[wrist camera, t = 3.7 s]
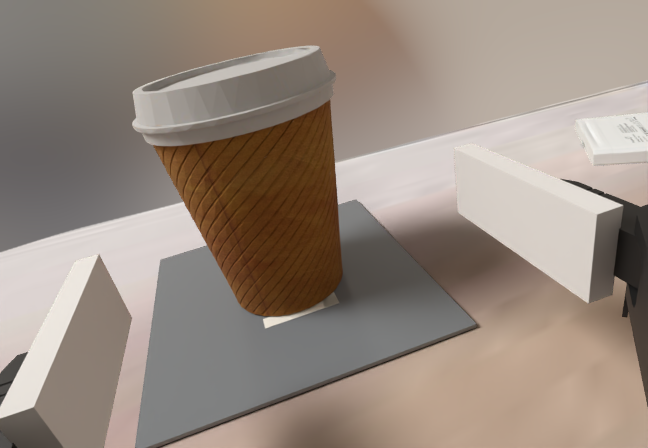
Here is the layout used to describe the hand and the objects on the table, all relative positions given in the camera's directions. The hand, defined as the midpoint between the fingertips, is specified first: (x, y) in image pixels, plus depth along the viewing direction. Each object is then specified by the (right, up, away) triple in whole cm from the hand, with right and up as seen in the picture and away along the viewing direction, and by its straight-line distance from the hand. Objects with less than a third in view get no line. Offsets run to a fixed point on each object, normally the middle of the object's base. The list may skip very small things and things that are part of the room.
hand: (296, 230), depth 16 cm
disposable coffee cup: (-1, -3, +9) cm, 10 cm away
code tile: (-1, -3, +9) cm, 10 cm away
